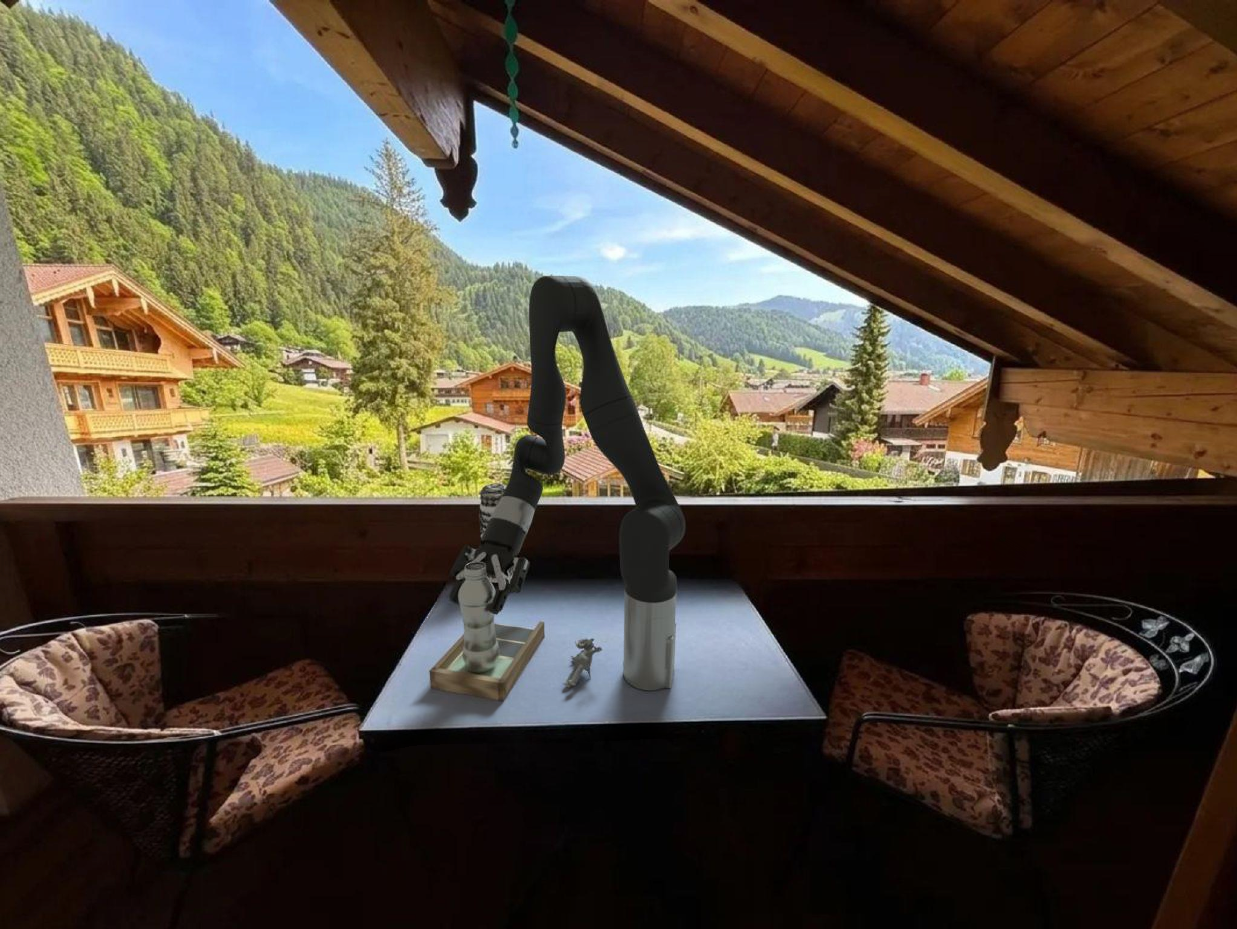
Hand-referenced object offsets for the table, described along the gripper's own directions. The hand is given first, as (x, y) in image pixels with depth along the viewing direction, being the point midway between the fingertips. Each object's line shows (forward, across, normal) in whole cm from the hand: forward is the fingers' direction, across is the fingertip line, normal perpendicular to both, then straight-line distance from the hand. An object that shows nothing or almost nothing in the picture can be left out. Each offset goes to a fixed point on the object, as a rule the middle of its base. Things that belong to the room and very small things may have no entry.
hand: (473, 607), depth 81 cm
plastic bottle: (+8, 0, +10) cm, 13 cm away
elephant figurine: (+4, +18, +16) cm, 24 cm away
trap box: (+6, -1, +14) cm, 15 cm away
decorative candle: (-15, -21, +35) cm, 44 cm away
